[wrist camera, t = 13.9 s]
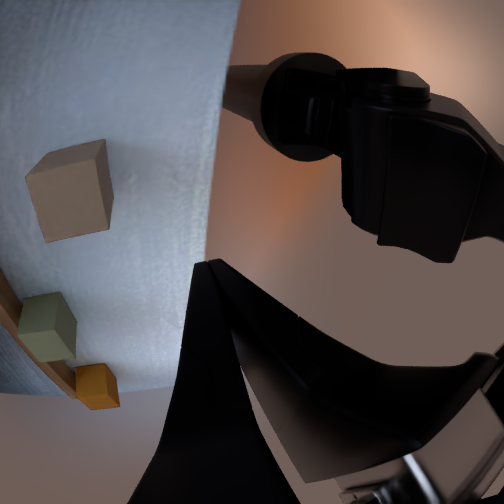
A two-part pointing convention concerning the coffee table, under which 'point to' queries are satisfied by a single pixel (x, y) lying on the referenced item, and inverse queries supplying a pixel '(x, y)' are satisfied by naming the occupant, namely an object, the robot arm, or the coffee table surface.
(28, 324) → the block sage
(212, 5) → the coffee table surface
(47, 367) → the straightedge
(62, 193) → the block cream
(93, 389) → the block saffron
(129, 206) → the coffee table surface
